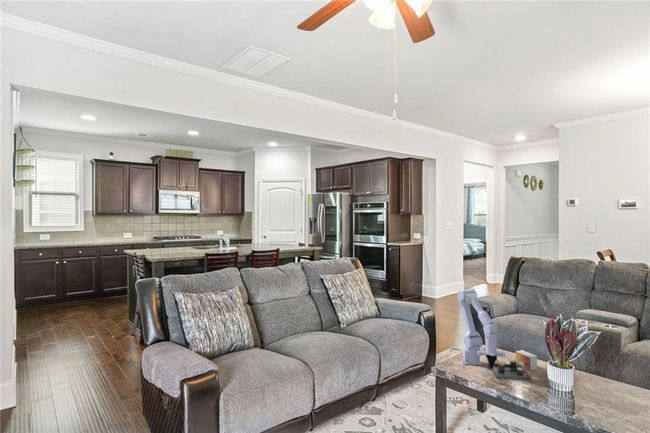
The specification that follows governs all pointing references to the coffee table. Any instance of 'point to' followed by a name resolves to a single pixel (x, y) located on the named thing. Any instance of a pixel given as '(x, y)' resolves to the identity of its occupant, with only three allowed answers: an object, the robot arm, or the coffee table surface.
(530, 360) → the small box
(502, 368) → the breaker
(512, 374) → the breaker panel
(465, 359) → the robot arm
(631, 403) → the coffee table surface
